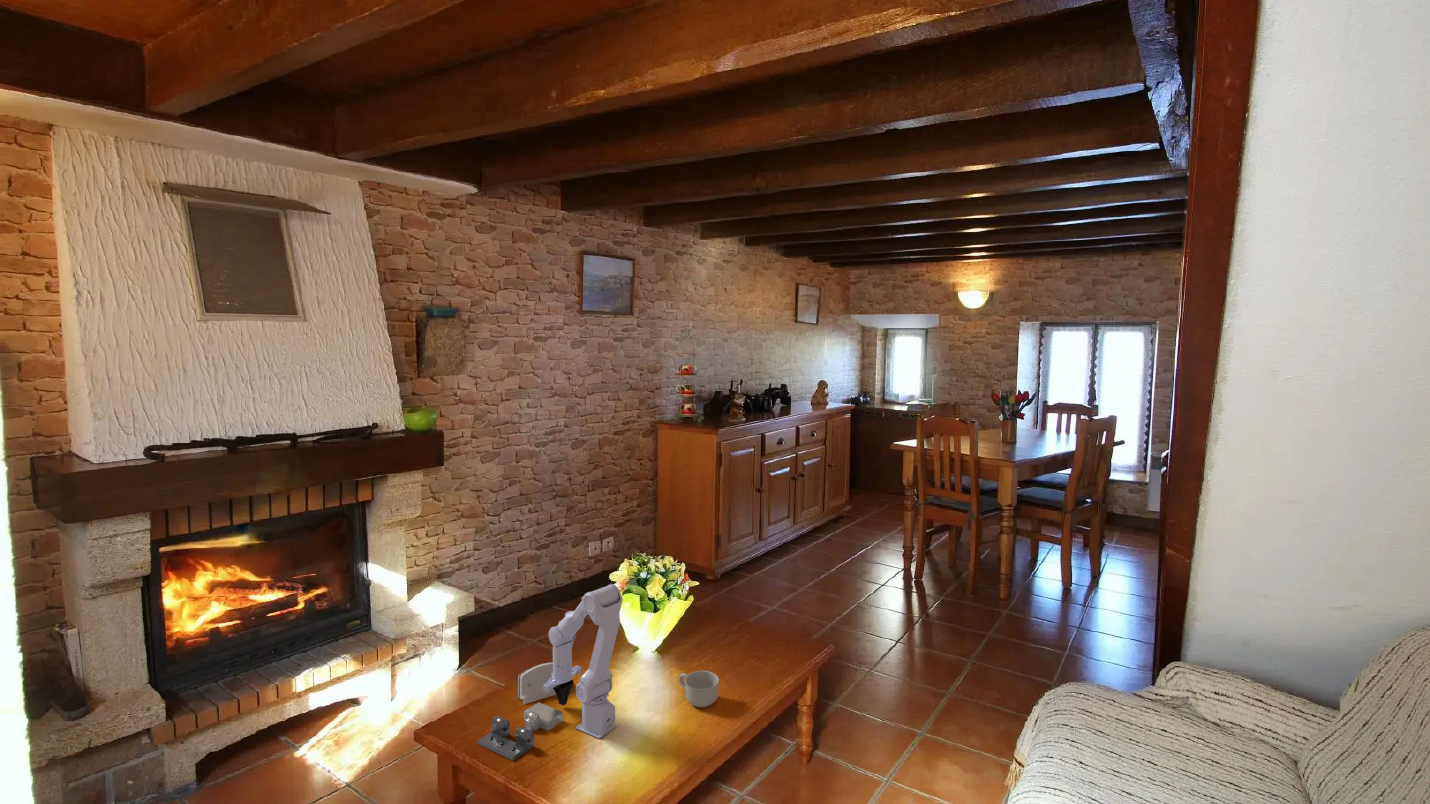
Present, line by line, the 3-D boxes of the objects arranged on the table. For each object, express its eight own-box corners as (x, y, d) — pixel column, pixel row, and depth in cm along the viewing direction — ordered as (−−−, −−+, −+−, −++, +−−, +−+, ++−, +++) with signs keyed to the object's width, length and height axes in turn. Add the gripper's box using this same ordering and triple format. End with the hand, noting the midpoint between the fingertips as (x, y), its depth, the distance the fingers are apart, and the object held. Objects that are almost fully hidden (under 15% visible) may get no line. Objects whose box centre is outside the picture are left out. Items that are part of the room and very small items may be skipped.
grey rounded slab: (522, 704, 220) (518, 671, 222) (518, 703, 224) (514, 670, 226) (572, 689, 230) (568, 658, 231) (567, 688, 234) (563, 657, 235)
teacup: (725, 702, 224) (725, 678, 223) (701, 716, 216) (702, 691, 215) (694, 686, 233) (694, 663, 232) (670, 698, 225) (670, 675, 224)
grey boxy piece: (562, 721, 212) (562, 707, 211) (540, 735, 204) (540, 721, 204) (538, 711, 217) (538, 697, 217) (516, 725, 209) (516, 710, 209)
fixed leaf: (534, 746, 199) (534, 729, 199) (512, 760, 193) (512, 743, 192) (499, 730, 207) (499, 713, 206) (477, 743, 200) (477, 727, 199)
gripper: (569, 649, 225) (569, 689, 227) (535, 668, 213) (536, 710, 215) (585, 655, 222) (586, 696, 223) (552, 674, 209) (553, 717, 211)
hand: (562, 703), depth 219 cm, fingers closed
